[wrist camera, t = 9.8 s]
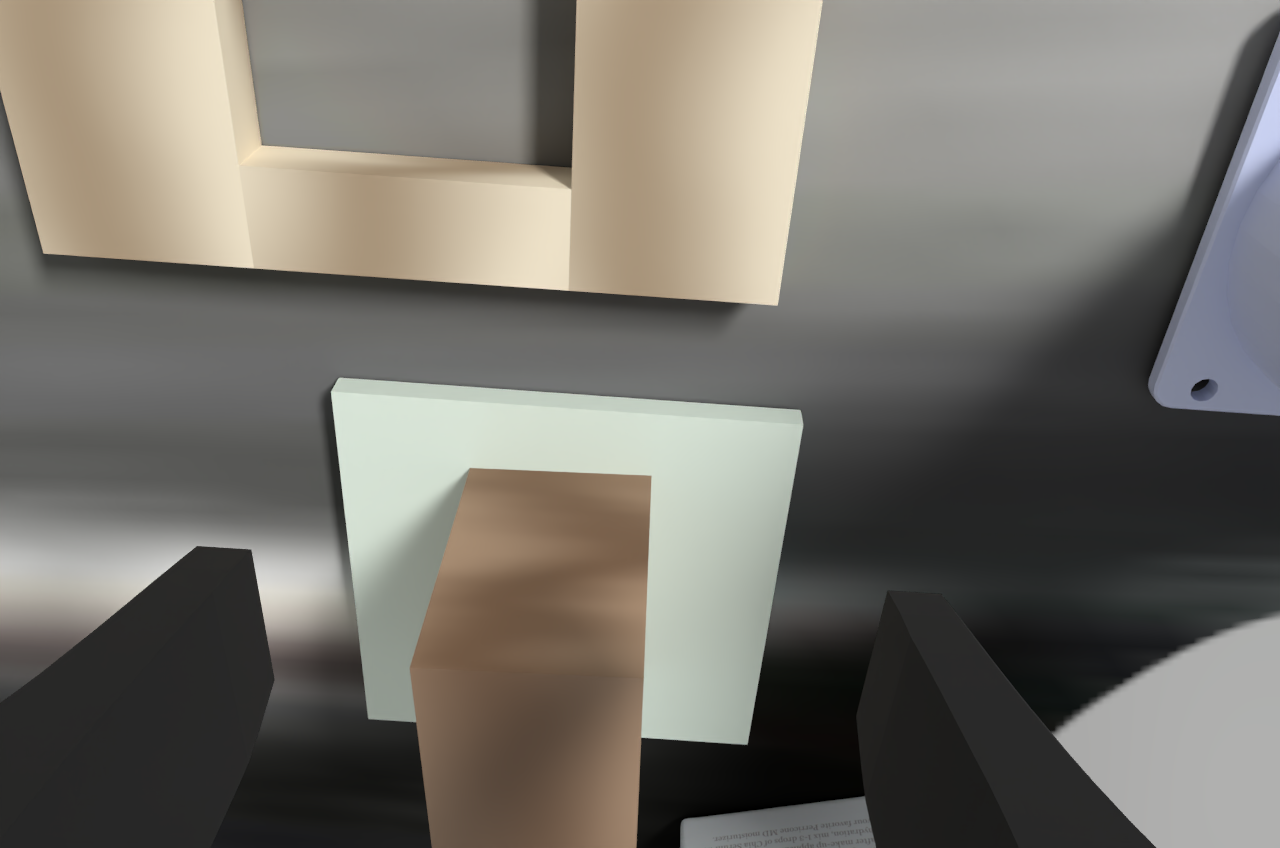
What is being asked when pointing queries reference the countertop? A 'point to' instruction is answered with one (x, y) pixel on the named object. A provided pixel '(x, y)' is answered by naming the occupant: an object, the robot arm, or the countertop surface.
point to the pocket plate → (421, 186)
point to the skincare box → (784, 827)
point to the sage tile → (584, 443)
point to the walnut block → (536, 663)
